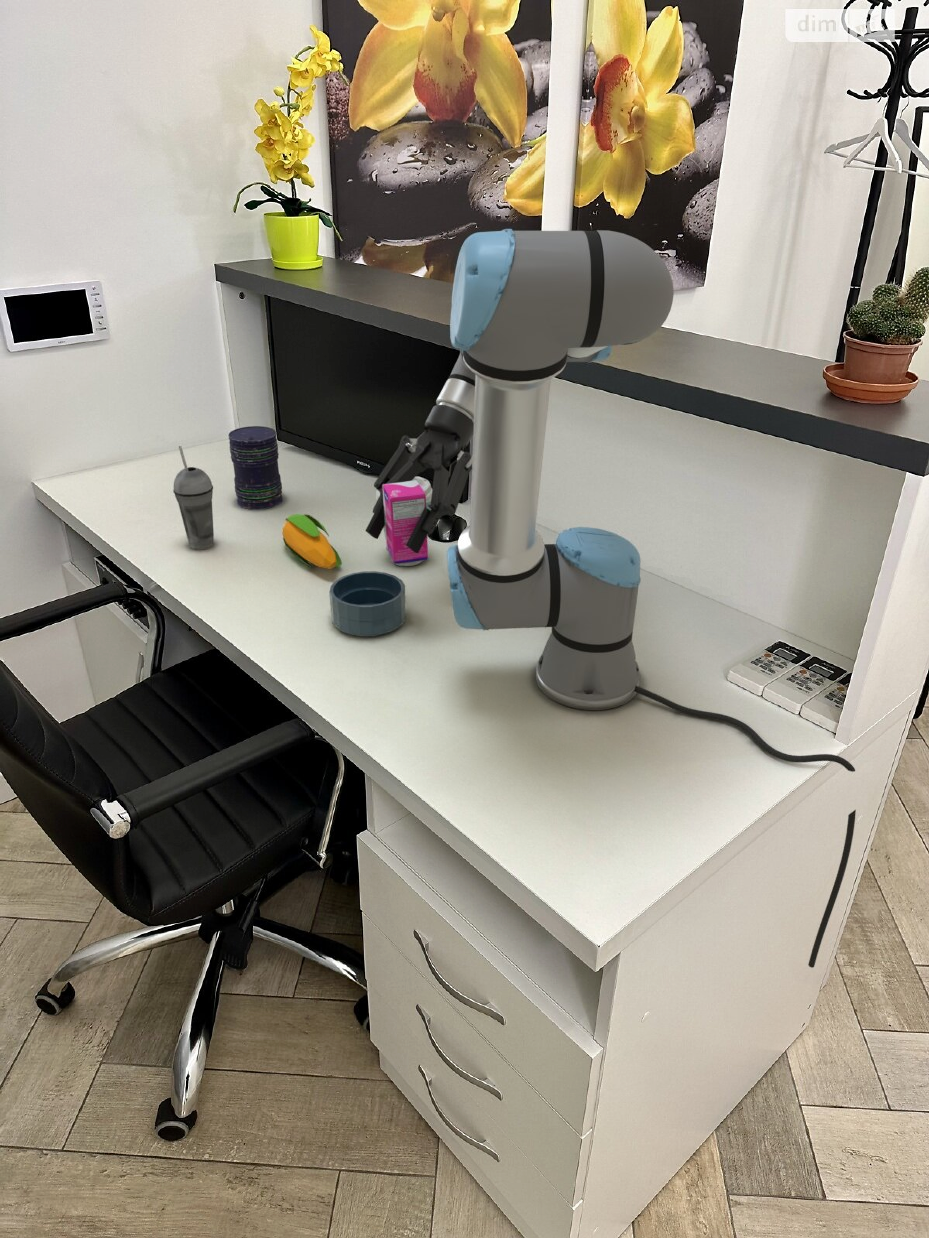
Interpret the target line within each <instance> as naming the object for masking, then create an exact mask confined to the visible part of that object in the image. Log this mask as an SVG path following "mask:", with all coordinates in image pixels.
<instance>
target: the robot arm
mask: <svg viewBox="0 0 929 1238" xmlns="http://www.w3.org/2000/svg"><path fill="white" fill-rule="evenodd" d="M674 292H675V291H674V283H673V279H672V275H671V272H670V270H669V268H668V267H667V264H666V263H665V261H664V260H663V258H662V257H661V256H660V254H658V253H657V252H656V251H655V250H654V249H653V248H651V247H650V246H649V245H648V244H646V243H645V242H643V241H642V240H639V239H638V238H636V237H633V236H631V235H628V234H626V233H622V232H618V231H613V230H602V229H600V230H599V229H597V230H513V229H512V228H505V229H502V230H496V231H480V232H475V233H472V234H470V235H469V236H467V238H465V240H464V242H463V244H462V245H461V247H460V250H459V252H458V257H457V261H456V265H455V271H454V277H453V284H452V294H451V308H450V317H449V335H450V336H449V338H450V342H451V343H450V344H451V345H452V347H453V348H455V349H457V350H459V354H458V358H457V360H456V362H455V364H454V366H453V368H452V370H451V373H450V375H449V376H448V378H447V380H446V381H445V383H444V385H443V387H442V389H441V391H440V393H439V395H438V397H437V398H436V400H435V403H436V405H434V406H433V407H432V409H431V411H430V413H429V414H428V416H427V418H426V420H425V423H424V430H423V432H422V434H420V435H419V436H418V437H417V438H415V437H414V438H413V437H412V438H411V437H409V436H408V435H407V434H404V435H403V436H401V439H400V441H399V445H398V447H397V449H396V451H395V452H394V453H393V455H392V456H391V458H390V459H389V461H388V462H387V464H386V465H385V467H384V468H383V469H382V471H381V472H380V474H379V476H378V477H377V478H376V480H375V482H374V483H373V487H374V488H375V489H376V490H378V491H379V492H380V497H379V498H378V500H377V499H376V502H375V504H374V506H373V508H372V514H373V515H372V517H371V519H370V521H369V522H368V525H367V527H366V528H365V532H366V533H367V534H369V535H370V536H371V537H372V538H373V539H376V540H378V539H379V537H380V535H381V534H382V531H383V530H384V529H383V528H384V526H385V520H384V503H383V486H382V485H383V484H391V483H400V482H407V481H412V480H413V479H414V478H415V477H418V475H419V474H420V473H423V472H424V471H426V469H433V470H434V473H433V481H432V482H433V483H432V498H431V504H430V505H428V507H429V508H430V509H431V511H430V510H429V509H427V508H424V510H423V512H422V514H421V516H420V518H419V520H418V522H417V524H416V526H415V528H414V530H413V532H412V534H411V536H410V538H409V540H408V542H407V544H406V546H407V547H409V548H410V549H411V550H412V551H413V552H415V553H419V551H420V549H421V547H422V545H423V543H424V541H425V539H426V537H427V535H428V536H429V535H432V534H433V532H434V531H435V529H436V526H437V525H438V524H439V521H440V519H441V518H442V517H444V516H450V517H453V516H455V515H456V512H457V509H458V507H459V503H460V500H461V497H462V495H463V492H464V488H465V486H466V483H467V481H468V477H469V474H470V472H471V488H470V511H469V512H470V515H469V525H468V526H466V527H465V528H464V529H463V531H462V532H461V533H460V535H459V536H458V537H459V538H458V540H457V544H454V545H452V546H449V547H448V548H447V549H446V564H447V573H448V580H449V587H450V596H451V603H452V610H453V615H454V620H455V622H456V624H457V625H458V626H459V627H461V628H463V629H466V630H481V631H482V630H483V631H489V630H506V629H508V630H509V629H511V630H512V629H530V628H531V629H532V628H534V629H536V628H551V632H550V635H549V637H548V639H547V641H546V643H545V645H544V647H543V650H542V653H541V655H540V657H539V659H538V661H537V664H536V673H535V675H536V676H535V679H536V684H537V686H538V688H539V689H540V691H541V692H542V693H543V694H544V695H545V696H546V697H548V698H549V699H550V700H552V701H554V702H556V703H557V704H560V705H563V706H566V707H570V708H573V709H577V710H584V711H604V710H609V709H610V710H611V709H615V708H618V707H620V706H623V705H625V704H628V703H629V702H631V700H632V699H634V698H635V697H636V695H637V694H639V695H641V696H644V697H646V698H649V699H650V700H653V701H655V702H658V703H659V704H662V705H664V706H665V707H668V708H670V709H672V710H675V711H677V712H680V713H683V714H686V715H688V716H693V717H698V718H704V719H710V720H717V721H721V722H725V723H728V724H730V725H733V726H735V727H736V728H737V727H738V728H739V729H741V730H743V732H745V733H746V734H747V735H749V737H751V739H752V740H754V742H756V744H757V745H758V746H759V747H760V748H761V749H762V750H764V751H765V752H766V753H768V754H769V755H771V756H772V757H775V758H777V759H779V760H782V761H785V762H789V763H800V764H801V763H812V762H813V763H815V762H816V763H817V762H832V763H833V762H834V763H836V764H839V765H841V766H842V767H844V768H845V769H846V770H847V771H849V772H852V773H854V772H856V768H855V767H854V765H853V764H852V763H851V762H849V761H848V760H847V759H845V757H844V758H843V757H842V756H840V755H836V754H830V753H820V754H819V753H817V754H807V755H793V754H788V753H784V752H782V751H779V750H777V749H776V748H773V747H772V746H771V745H769V744H768V743H767V742H766V741H765V740H764V739H763V738H762V737H761V736H760V735H759V734H758V732H756V731H755V730H754V729H753V728H752V727H750V725H748V724H747V723H745V722H743V721H741V720H739V719H738V718H734V717H733V716H729V715H726V714H722V713H716V712H712V711H704V710H699V709H694V708H691V707H687V706H683V705H681V704H678V703H676V702H674V701H671V700H670V699H668V698H666V697H664V696H661V695H659V694H657V693H654V692H652V691H651V690H648V689H645V688H644V687H641V686H640V682H641V673H640V666H639V665H638V664H639V663H638V662H637V659H636V652H635V647H634V644H633V633H634V625H635V617H636V610H637V609H636V608H637V601H638V593H639V585H640V584H641V581H642V579H641V555H640V552H639V550H638V549H637V548H636V546H635V545H634V544H633V543H632V542H631V541H629V539H626V538H625V537H623V536H621V535H619V534H617V533H615V532H611V531H609V530H605V529H602V528H598V527H597V528H596V527H589V526H576V527H575V526H574V527H570V528H568V529H564V530H562V531H561V532H560V533H558V536H557V537H556V540H555V543H545V541H544V538H543V536H542V535H541V534H540V533H539V531H538V530H536V528H537V527H536V526H537V518H538V517H537V516H538V509H539V508H538V506H539V499H540V498H539V497H540V488H541V478H542V468H543V458H544V449H545V439H546V431H547V430H546V429H547V420H548V410H549V403H550V393H551V391H550V390H551V381H552V379H554V378H555V377H557V376H558V375H559V374H560V373H562V372H563V370H564V369H565V367H566V366H567V363H583V362H588V363H593V362H603V361H607V360H608V358H609V357H610V356H611V352H612V350H613V347H614V346H627V345H628V346H629V345H632V344H633V345H634V344H636V343H639V342H641V341H644V340H645V339H647V338H649V337H651V336H652V335H653V334H655V333H656V332H657V331H658V330H659V329H660V328H661V327H662V326H663V325H664V324H665V322H666V320H668V317H669V315H670V312H671V311H672V306H673V301H674ZM471 439H472V454H471V453H470V452H469V451H464V450H465V448H466V447H468V445H469V443H470V441H471ZM454 463H456V464H455V466H454V468H453V472H452V465H453V464H454ZM451 472H452V473H451ZM451 474H452V475H451ZM449 478H450V480H449ZM856 813H857V809H854V810H853V811H851V812H849V814H848V816H847V825H846V833H845V840H844V843H843V850H842V854H841V858H840V862H839V867H838V870H837V874H836V876H835V880H834V883H833V886H832V889H831V892H830V894H829V898H828V900H827V904H826V907H825V909H824V912H823V915H822V918H821V922H820V924H819V927H818V930H817V933H816V936H815V939H814V943H813V946H812V950H811V953H810V956H809V960H808V963H807V965H808V967H809V968H811V969H813V968H815V966H816V965H815V964H816V961H817V958H818V954H819V951H820V947H821V945H822V942H823V938H824V935H825V933H826V929H827V926H828V923H829V921H830V918H831V916H832V912H833V909H834V907H835V904H836V901H837V898H838V895H839V892H840V889H841V886H842V883H843V879H844V877H845V872H846V870H847V865H848V862H849V857H850V854H851V849H852V844H853V839H854V832H855V824H856Z"/></svg>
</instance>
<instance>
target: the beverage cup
mask: <svg viewBox="0 0 929 1238" xmlns="http://www.w3.org/2000/svg"><path fill="white" fill-rule="evenodd" d="M178 450H179V453H180V454H179V455H180V457H181V460H182V465H183V467H184V468H182V469H181V470H179V472H178V473H177V474H176V476H175V478H174V479H173V491H172V492H173V494H174V498H175V500H176V502H177V504H178V507H179V512H180V516H181V518H182V523H183V527H184V531H185V534H186V535H185V536H186V538H187V540H188V541H187V542H188V544H189V547H190V549H192V550H198V551H200V550H206V549H207V550H208V549H209V548H212V547H213V546H214V545H215V541H214V540H215V539H214V537H215V533H214V514H213V513H214V512H213V492H214V491H213V490H214V485H213V483H212V480H211V478H210V476H209V475H208V474H207V473H206V471H204V470H203V469H201V468H199V467H195V466H188V465H187V461H186V457H185V455H184V450H183V447H182V445H178Z"/></svg>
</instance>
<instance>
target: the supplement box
mask: <svg viewBox="0 0 929 1238" xmlns="http://www.w3.org/2000/svg"><path fill="white" fill-rule="evenodd" d="M382 486H383V503H384V520H385V534H384V537H385V536H386V539H385V548H386V551H387V553H388V552H389V553H388V555H389V554H390V556H391V558H392V560H393V563H392V564H393V565H396V564H400V563H408V562H416V561H422V562H423V561H428V560H429V544H428V543H429V542H428V538H427V537H426V539H425V541H424V543H423V545H422V547H421V549H420V551H419V553H415V552H413V551H412V550H411V549H410V548H409V547H407V546H406V544H407V542H408V540H409V538H410V536H411V534H412V532H413V530H414V528H415V526H416V524H417V522H418V520H419V518H420V516H421V514H422V512H423V510H424V508H426V494H425V492H424V491H423V489H422V488H421V486H420V485H419V483H418V482H417V480H414V481H407V482H400V483H391V484H383V485H382Z"/></svg>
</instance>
